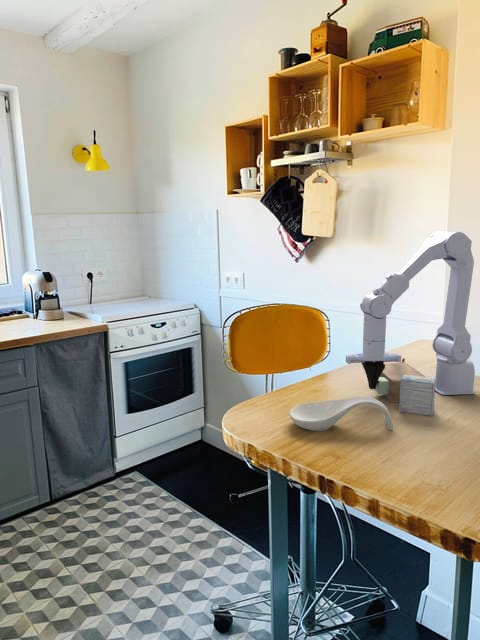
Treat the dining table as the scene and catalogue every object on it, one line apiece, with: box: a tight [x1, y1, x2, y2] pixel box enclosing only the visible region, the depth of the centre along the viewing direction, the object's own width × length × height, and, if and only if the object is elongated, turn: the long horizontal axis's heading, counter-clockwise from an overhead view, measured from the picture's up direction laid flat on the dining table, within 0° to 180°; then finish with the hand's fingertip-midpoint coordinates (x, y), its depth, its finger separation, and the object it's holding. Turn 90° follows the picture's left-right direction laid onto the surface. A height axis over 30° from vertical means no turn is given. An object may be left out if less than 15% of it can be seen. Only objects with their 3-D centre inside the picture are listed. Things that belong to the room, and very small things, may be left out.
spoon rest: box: [288, 395, 394, 432], centre depth 115 cm, size 24×12×7 cm, turn 86°
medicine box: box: [398, 375, 436, 417], centre depth 123 cm, size 8×4×9 cm, turn 65°
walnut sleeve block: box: [380, 362, 426, 403], centre depth 138 cm, size 10×16×6 cm, turn 3°
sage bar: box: [374, 377, 390, 395], centre depth 134 cm, size 9×4×4 cm, turn 94°
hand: (372, 388), depth 134 cm, fingers closed
